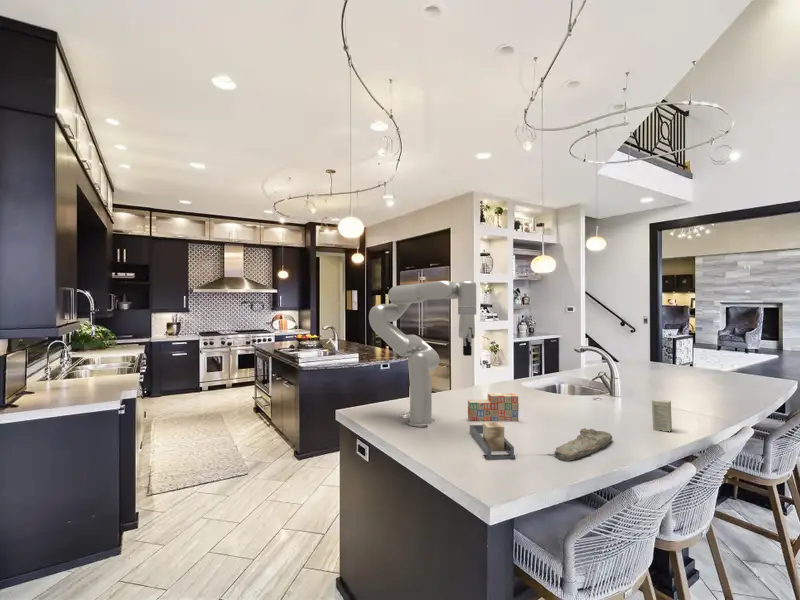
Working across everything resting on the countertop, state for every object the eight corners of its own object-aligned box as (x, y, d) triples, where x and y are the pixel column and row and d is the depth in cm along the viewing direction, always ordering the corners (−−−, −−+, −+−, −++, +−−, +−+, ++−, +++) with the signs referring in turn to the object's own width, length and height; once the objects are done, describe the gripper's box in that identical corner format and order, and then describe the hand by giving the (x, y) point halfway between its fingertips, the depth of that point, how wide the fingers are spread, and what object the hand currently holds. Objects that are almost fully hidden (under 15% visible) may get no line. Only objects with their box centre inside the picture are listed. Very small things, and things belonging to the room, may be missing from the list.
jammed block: (487, 450, 143) (487, 427, 143) (482, 444, 149) (482, 422, 149) (504, 450, 144) (504, 427, 144) (499, 444, 150) (499, 422, 150)
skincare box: (672, 430, 170) (671, 400, 170) (670, 432, 167) (669, 402, 167) (654, 427, 174) (654, 398, 175) (651, 429, 171) (651, 400, 171)
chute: (486, 459, 137) (486, 447, 138) (468, 435, 163) (468, 425, 163) (515, 459, 138) (515, 447, 138) (493, 434, 164) (493, 424, 164)
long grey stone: (546, 460, 141) (574, 471, 134) (546, 445, 141) (574, 455, 133) (592, 434, 164) (618, 442, 156) (592, 421, 163) (619, 428, 156)
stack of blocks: (469, 423, 180) (469, 395, 180) (467, 419, 186) (467, 392, 186) (518, 424, 180) (518, 395, 180) (514, 420, 186) (514, 392, 186)
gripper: (454, 310, 177) (454, 353, 177) (462, 311, 163) (462, 357, 162) (471, 310, 178) (471, 353, 178) (480, 311, 163) (480, 357, 163)
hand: (467, 355), depth 170 cm, fingers closed
